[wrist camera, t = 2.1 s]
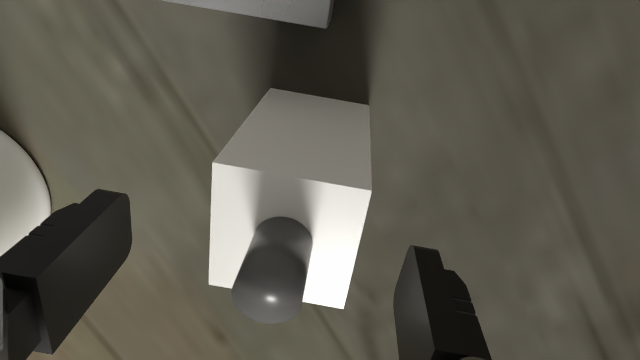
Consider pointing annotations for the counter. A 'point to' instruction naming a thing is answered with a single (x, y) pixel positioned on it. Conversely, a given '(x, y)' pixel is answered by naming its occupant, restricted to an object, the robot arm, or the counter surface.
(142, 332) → the counter surface
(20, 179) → the mug
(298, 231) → the plug
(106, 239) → the robot arm
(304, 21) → the socket plate
